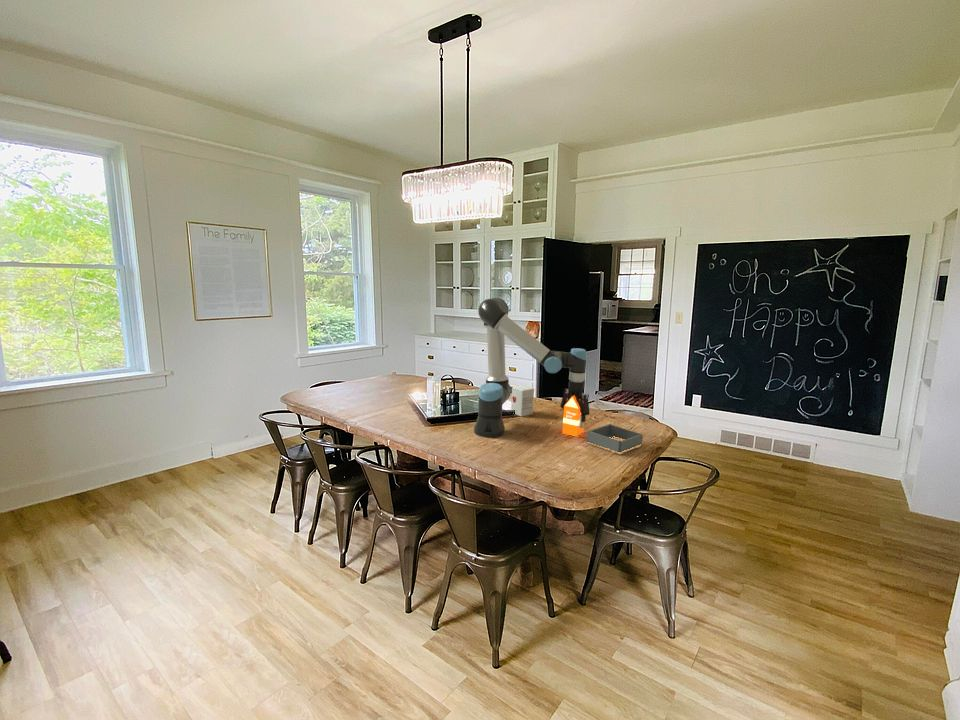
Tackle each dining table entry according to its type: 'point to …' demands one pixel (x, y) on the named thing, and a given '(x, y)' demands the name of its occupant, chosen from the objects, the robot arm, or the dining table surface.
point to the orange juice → (572, 418)
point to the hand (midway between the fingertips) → (573, 425)
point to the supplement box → (522, 400)
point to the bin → (603, 433)
